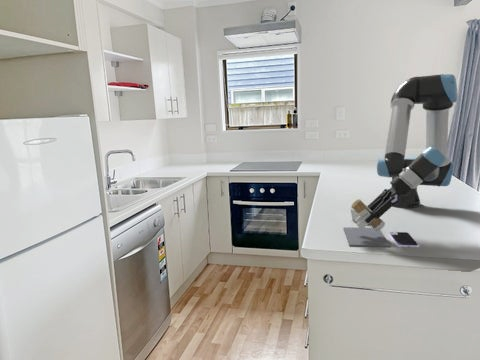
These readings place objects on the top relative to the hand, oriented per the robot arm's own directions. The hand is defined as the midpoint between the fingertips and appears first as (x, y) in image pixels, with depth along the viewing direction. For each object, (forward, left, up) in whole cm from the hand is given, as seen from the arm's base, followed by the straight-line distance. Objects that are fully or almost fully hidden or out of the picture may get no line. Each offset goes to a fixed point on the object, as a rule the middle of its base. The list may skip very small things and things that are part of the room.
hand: (358, 225), depth 136 cm
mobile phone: (+2, +16, -5) cm, 17 cm away
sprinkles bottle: (0, -1, +9) cm, 9 cm away
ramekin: (-24, +6, -5) cm, 25 cm away
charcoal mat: (0, +3, -5) cm, 6 cm away
